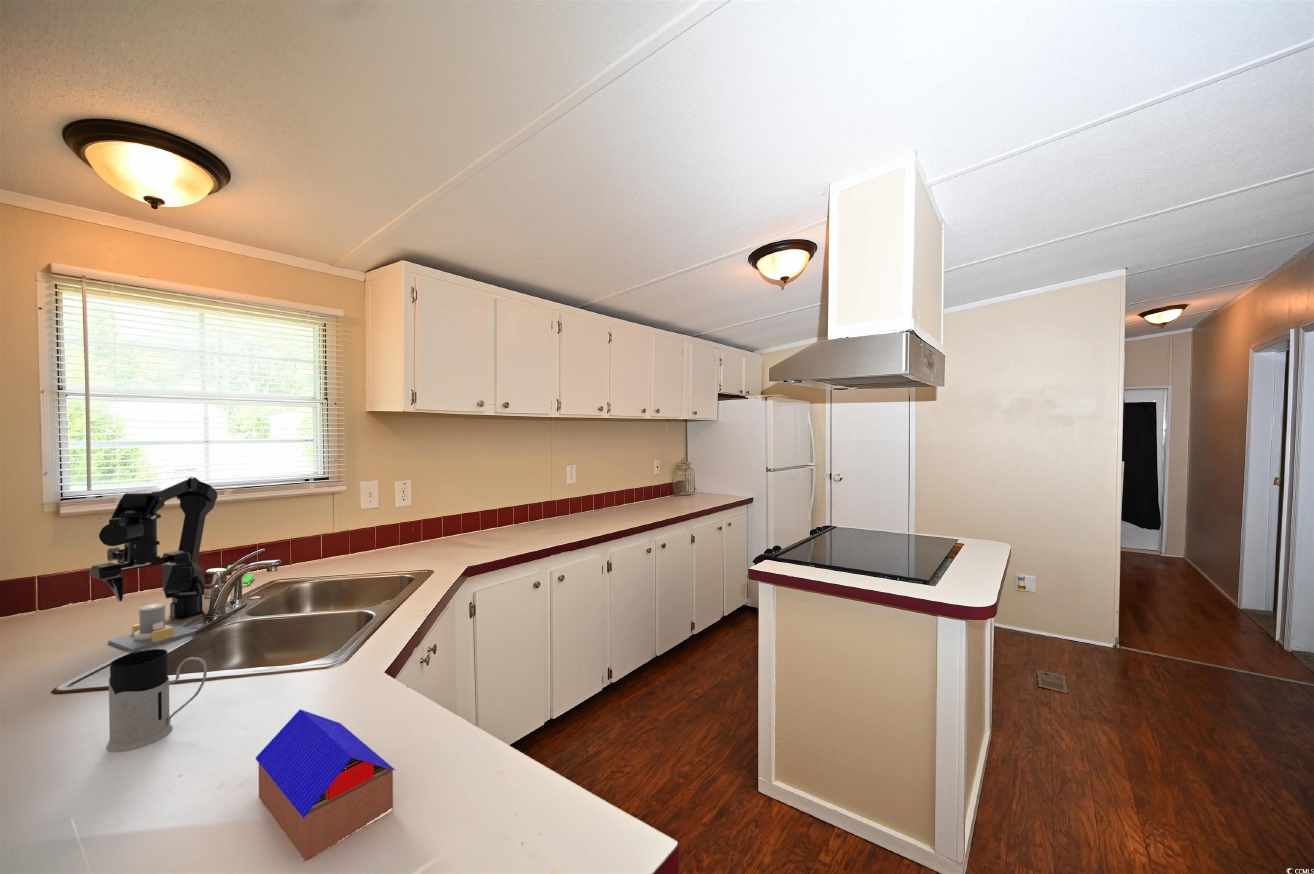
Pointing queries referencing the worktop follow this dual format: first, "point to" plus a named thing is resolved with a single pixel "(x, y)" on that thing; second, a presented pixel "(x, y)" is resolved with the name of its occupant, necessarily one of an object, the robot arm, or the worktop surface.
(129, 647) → the board
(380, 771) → the house
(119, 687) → the glass holder
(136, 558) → the robot arm
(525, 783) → the worktop surface
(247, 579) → the mechanical part
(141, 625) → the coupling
